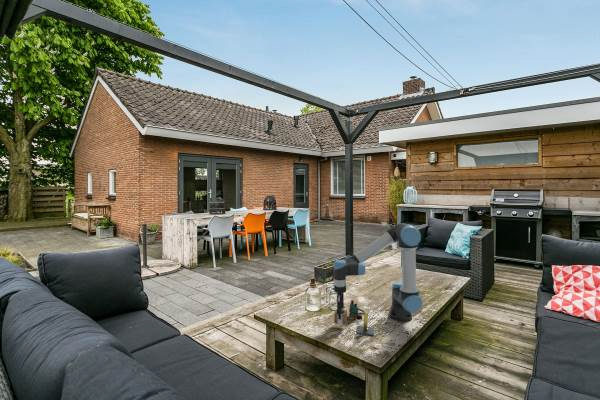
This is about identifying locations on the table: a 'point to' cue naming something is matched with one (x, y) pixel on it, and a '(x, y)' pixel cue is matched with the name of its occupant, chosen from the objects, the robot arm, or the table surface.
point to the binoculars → (355, 311)
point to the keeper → (365, 327)
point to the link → (344, 317)
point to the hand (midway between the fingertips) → (340, 320)
